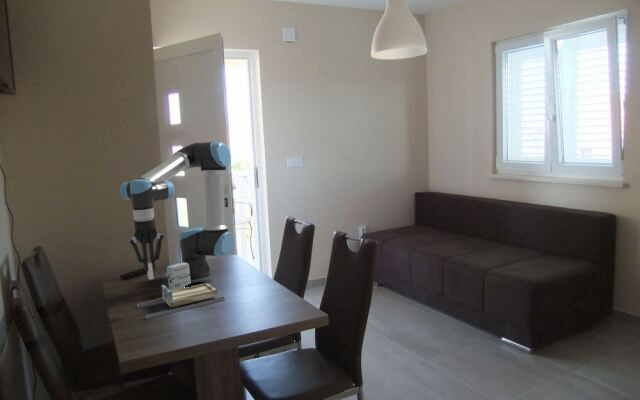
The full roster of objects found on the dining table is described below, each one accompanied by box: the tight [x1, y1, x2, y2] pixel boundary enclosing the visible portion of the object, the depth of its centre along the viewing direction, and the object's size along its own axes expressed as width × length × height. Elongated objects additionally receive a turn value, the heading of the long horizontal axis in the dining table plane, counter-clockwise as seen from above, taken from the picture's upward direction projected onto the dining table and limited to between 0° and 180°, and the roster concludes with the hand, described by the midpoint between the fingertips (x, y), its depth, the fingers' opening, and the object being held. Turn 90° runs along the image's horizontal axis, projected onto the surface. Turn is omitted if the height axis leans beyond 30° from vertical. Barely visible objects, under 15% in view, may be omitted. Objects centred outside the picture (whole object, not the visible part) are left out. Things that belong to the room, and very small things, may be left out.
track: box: [136, 296, 225, 319], centre depth 188 cm, size 16×31×1 cm, turn 123°
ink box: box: [166, 262, 192, 291], centre depth 204 cm, size 9×5×12 cm, turn 135°
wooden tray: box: [161, 282, 218, 309], centre depth 190 cm, size 12×19×7 cm, turn 123°
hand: (150, 278), depth 181 cm, fingers closed
